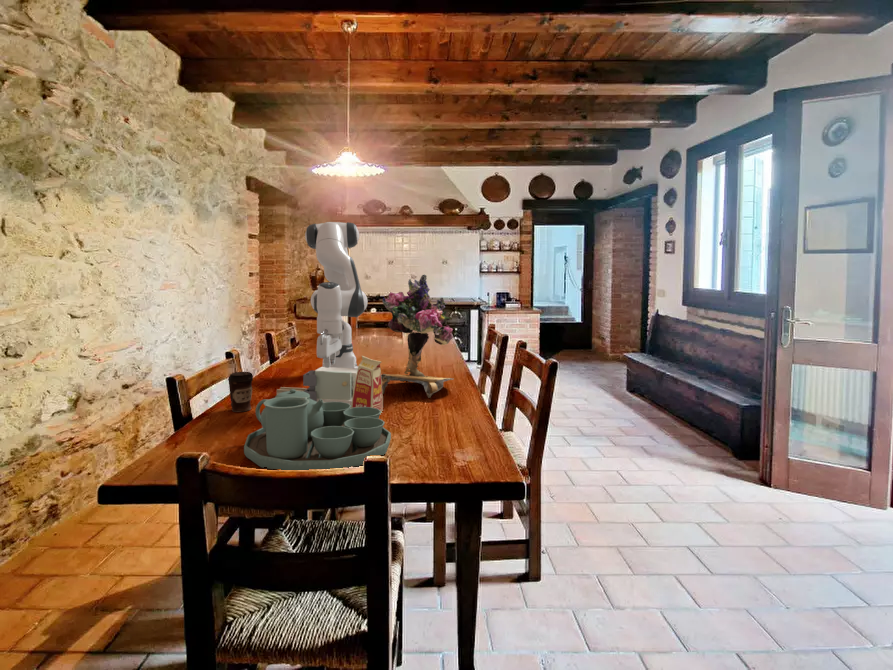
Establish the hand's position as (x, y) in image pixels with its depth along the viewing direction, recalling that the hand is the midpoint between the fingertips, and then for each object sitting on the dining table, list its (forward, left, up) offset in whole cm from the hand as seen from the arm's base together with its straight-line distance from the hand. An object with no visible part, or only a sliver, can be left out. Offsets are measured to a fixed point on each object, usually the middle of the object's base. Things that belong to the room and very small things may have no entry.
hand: (329, 365), depth 203 cm
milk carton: (+10, +17, -14) cm, 24 cm away
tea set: (+47, +11, -15) cm, 50 cm away
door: (+1, 0, -12) cm, 12 cm away
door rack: (-8, -17, -14) cm, 24 cm away
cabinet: (-5, 0, -14) cm, 15 cm away
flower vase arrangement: (-27, +28, -14) cm, 41 cm away
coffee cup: (+13, -27, -14) cm, 34 cm away
